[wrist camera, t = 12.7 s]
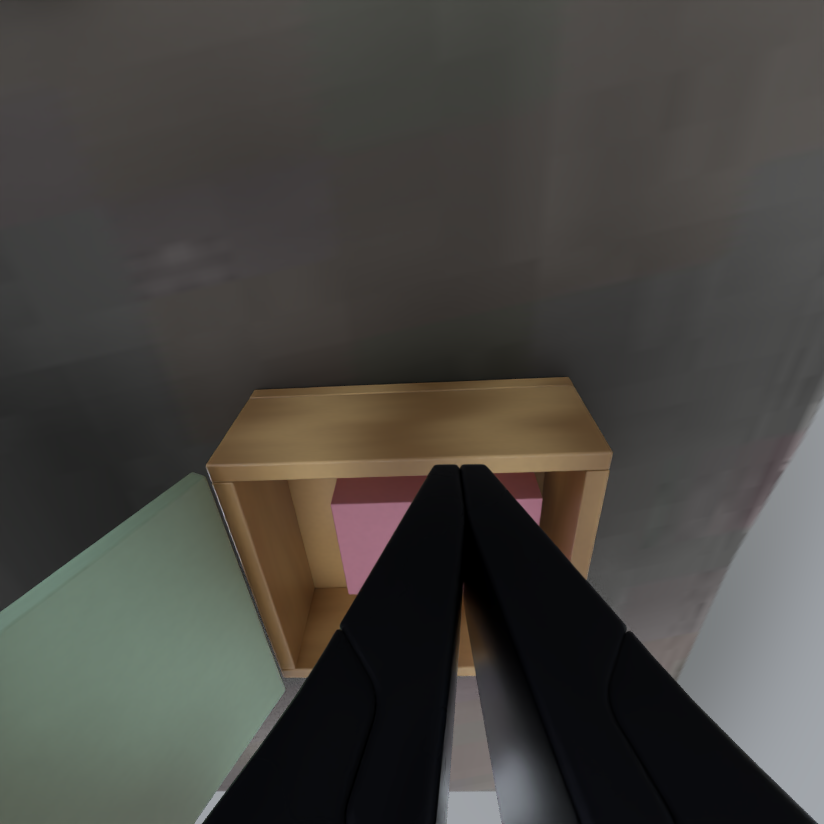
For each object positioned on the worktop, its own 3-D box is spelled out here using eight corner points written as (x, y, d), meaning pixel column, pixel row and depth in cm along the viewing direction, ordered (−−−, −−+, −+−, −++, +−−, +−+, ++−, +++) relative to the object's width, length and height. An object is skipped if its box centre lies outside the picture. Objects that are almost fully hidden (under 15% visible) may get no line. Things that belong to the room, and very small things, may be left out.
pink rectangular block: (521, 547, 25) (531, 591, 22) (355, 550, 25) (348, 595, 23) (529, 457, 21) (543, 498, 19) (340, 464, 22) (330, 504, 20)
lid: (-971, 1371, 4) (-947, 1299, 5) (-91, 1241, 12) (-104, 1217, 12) (206, 475, 16) (192, 470, 16) (286, 689, 23) (275, 683, 23)
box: (568, 376, 20) (614, 451, 15) (541, 580, 27) (566, 676, 22) (254, 389, 21) (203, 465, 16) (307, 584, 28) (283, 678, 23)
